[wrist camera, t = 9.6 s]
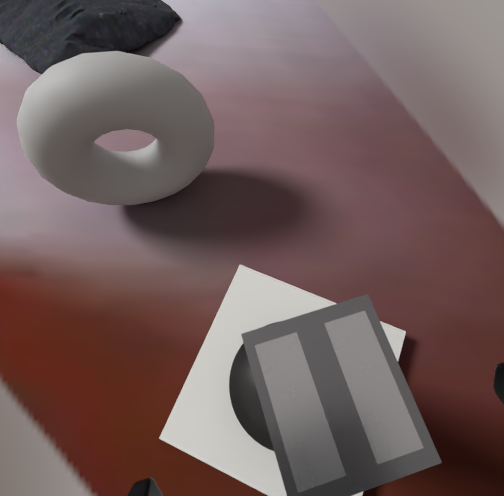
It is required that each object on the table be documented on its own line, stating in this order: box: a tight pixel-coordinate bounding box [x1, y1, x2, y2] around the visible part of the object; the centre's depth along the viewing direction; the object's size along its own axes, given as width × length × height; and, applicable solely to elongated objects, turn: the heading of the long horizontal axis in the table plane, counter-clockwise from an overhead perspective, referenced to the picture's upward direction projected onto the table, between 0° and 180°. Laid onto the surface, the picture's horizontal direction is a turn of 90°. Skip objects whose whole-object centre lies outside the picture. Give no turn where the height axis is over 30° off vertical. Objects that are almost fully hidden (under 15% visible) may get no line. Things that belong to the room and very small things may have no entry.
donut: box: [17, 51, 214, 205], centre depth 19 cm, size 10×3×10 cm, turn 106°
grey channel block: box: [229, 294, 442, 496], centre depth 12 cm, size 6×6×12 cm
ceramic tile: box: [159, 265, 406, 496], centre depth 18 cm, size 10×10×1 cm
